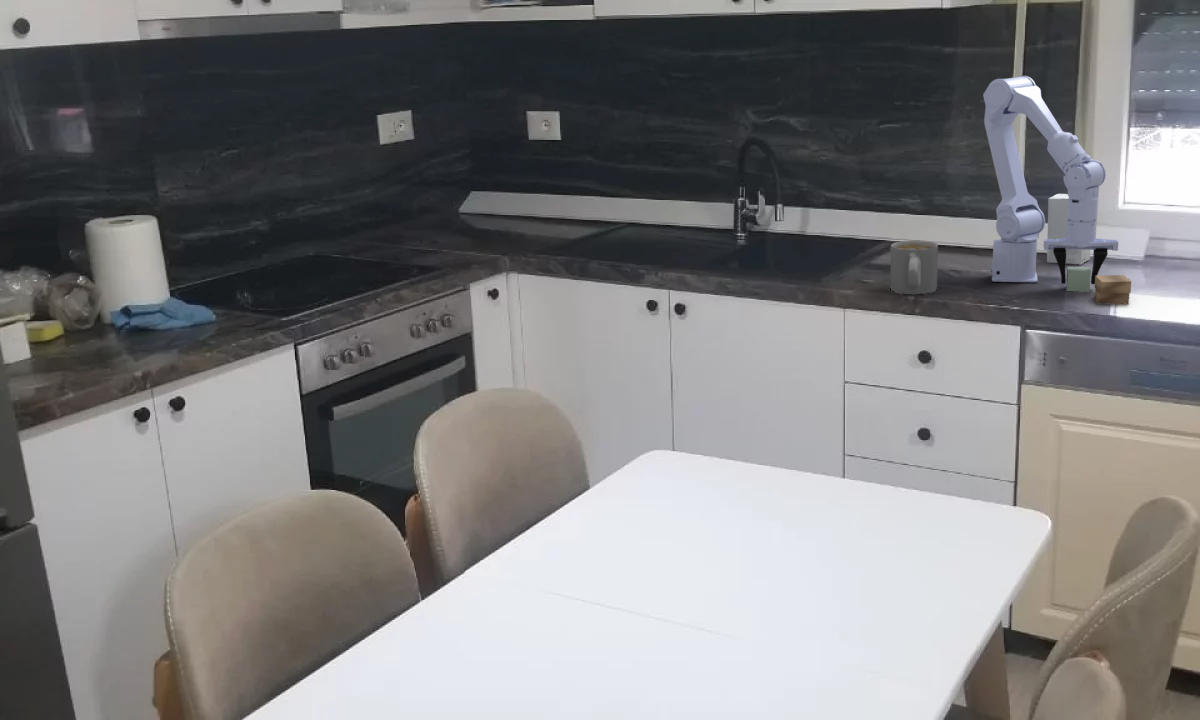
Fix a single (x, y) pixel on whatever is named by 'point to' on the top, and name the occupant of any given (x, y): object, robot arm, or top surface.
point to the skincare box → (1062, 230)
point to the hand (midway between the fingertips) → (1078, 282)
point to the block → (1078, 279)
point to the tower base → (1111, 298)
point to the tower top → (1113, 284)
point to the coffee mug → (913, 267)
